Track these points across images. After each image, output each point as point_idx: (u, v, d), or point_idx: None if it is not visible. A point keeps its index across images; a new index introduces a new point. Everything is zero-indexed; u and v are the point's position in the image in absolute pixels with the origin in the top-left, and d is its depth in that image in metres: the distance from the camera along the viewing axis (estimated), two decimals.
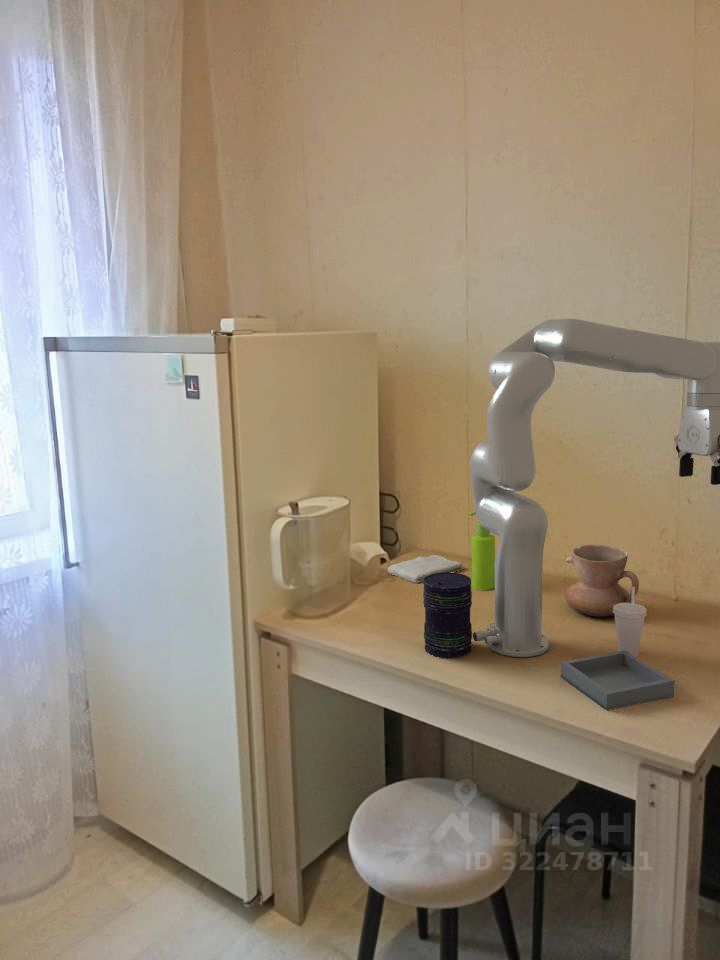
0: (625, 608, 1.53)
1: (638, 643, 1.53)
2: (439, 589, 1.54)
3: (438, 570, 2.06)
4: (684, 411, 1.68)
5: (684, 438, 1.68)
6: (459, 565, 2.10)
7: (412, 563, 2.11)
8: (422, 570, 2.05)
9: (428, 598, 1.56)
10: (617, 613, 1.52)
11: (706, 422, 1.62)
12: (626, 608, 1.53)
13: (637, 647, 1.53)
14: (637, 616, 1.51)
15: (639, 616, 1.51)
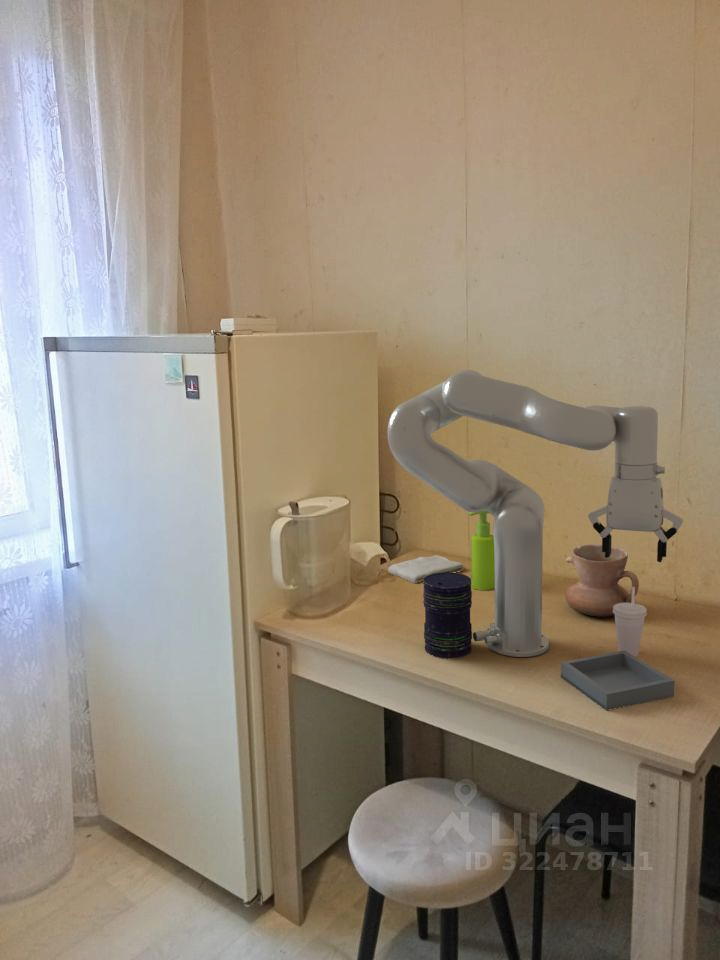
0: (625, 608, 1.53)
1: (638, 643, 1.53)
2: (439, 589, 1.54)
3: (438, 570, 2.06)
4: None
5: None
6: (460, 566, 2.10)
7: (413, 563, 2.11)
8: (422, 570, 2.05)
9: (428, 598, 1.56)
10: (617, 613, 1.52)
11: None
12: (626, 608, 1.53)
13: (637, 647, 1.53)
14: (637, 616, 1.51)
15: (639, 616, 1.51)
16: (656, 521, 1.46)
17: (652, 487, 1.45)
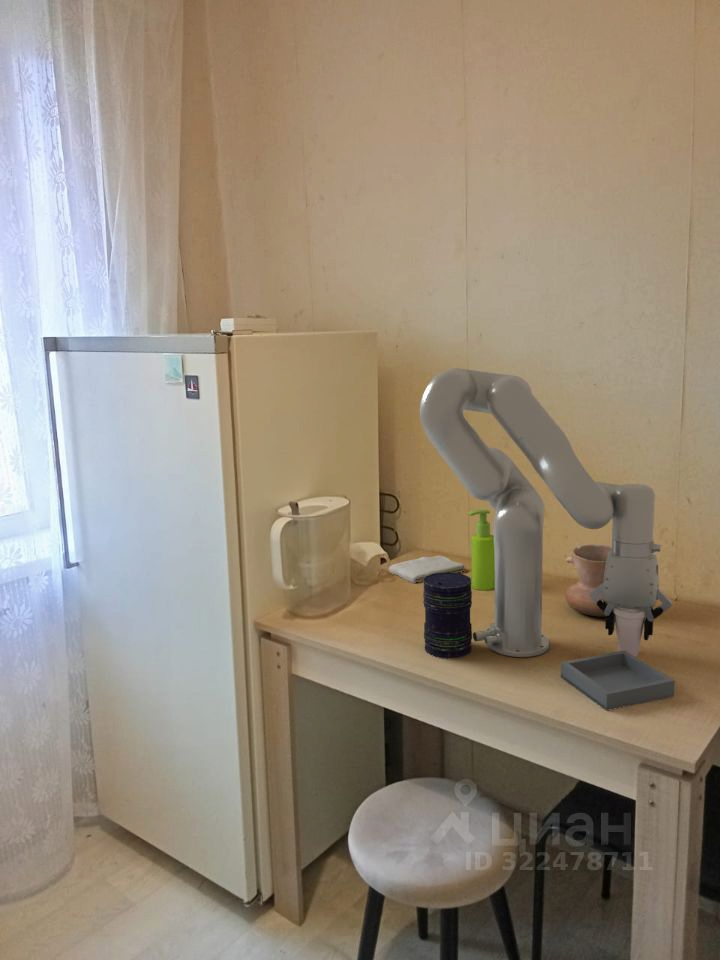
0: (626, 608, 1.53)
1: (638, 643, 1.53)
2: (439, 589, 1.54)
3: (438, 571, 2.06)
4: None
5: None
6: (461, 566, 2.09)
7: (414, 563, 2.12)
8: (421, 570, 2.05)
9: (428, 598, 1.56)
10: (618, 613, 1.52)
11: None
12: (627, 608, 1.53)
13: (637, 647, 1.53)
14: (638, 616, 1.51)
15: (640, 616, 1.51)
16: (651, 598, 1.49)
17: (648, 565, 1.48)
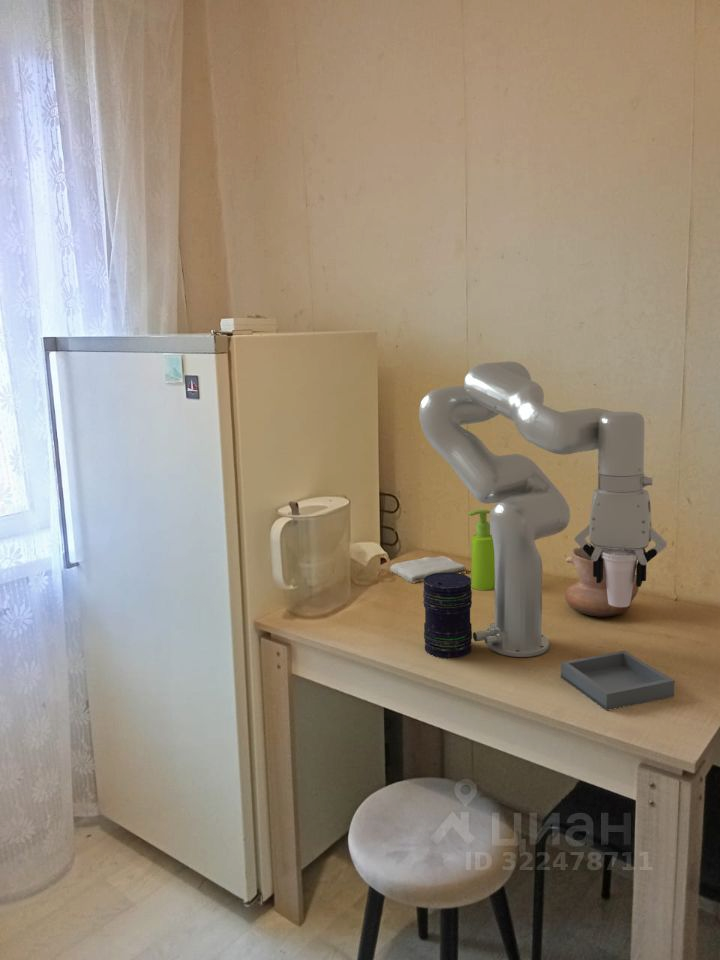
0: (615, 551, 1.37)
1: (630, 591, 1.37)
2: (439, 589, 1.54)
3: (438, 571, 2.05)
4: None
5: None
6: (462, 567, 2.08)
7: (415, 563, 2.12)
8: (421, 570, 2.05)
9: (428, 598, 1.56)
10: (606, 557, 1.36)
11: None
12: (616, 551, 1.37)
13: (629, 595, 1.37)
14: (629, 559, 1.34)
15: (631, 559, 1.34)
16: (643, 537, 1.33)
17: (639, 500, 1.32)
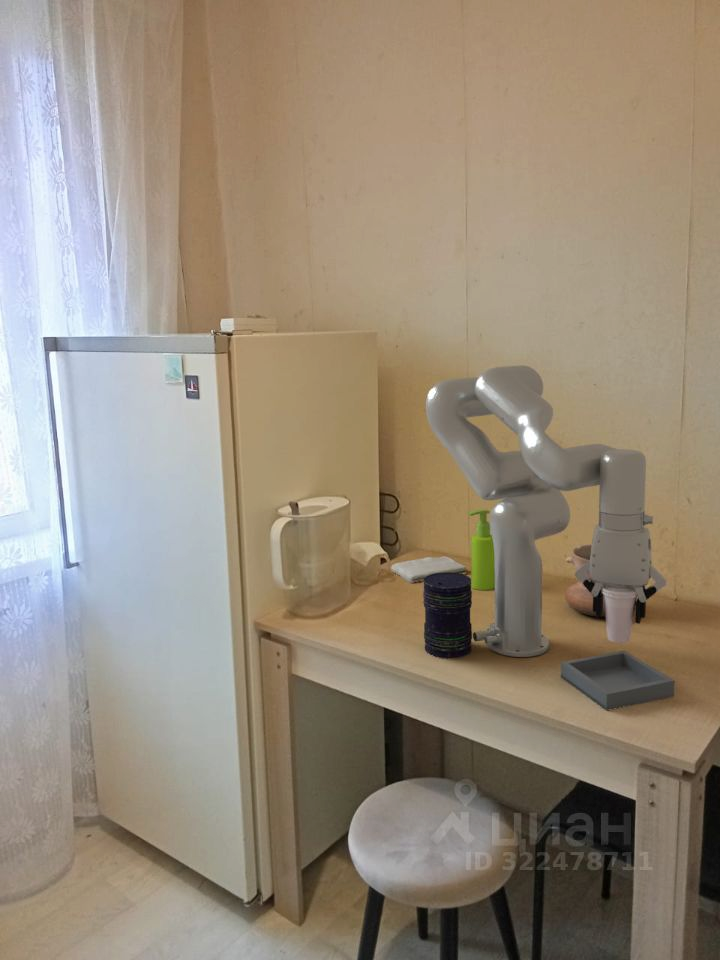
0: (615, 588, 1.38)
1: (629, 627, 1.38)
2: (439, 589, 1.54)
3: (437, 572, 2.05)
4: None
5: None
6: (462, 568, 2.08)
7: (416, 563, 2.12)
8: (421, 570, 2.05)
9: (428, 598, 1.56)
10: (606, 593, 1.37)
11: None
12: (616, 588, 1.38)
13: (628, 631, 1.38)
14: (628, 596, 1.35)
15: (630, 596, 1.35)
16: (643, 576, 1.34)
17: (639, 538, 1.33)
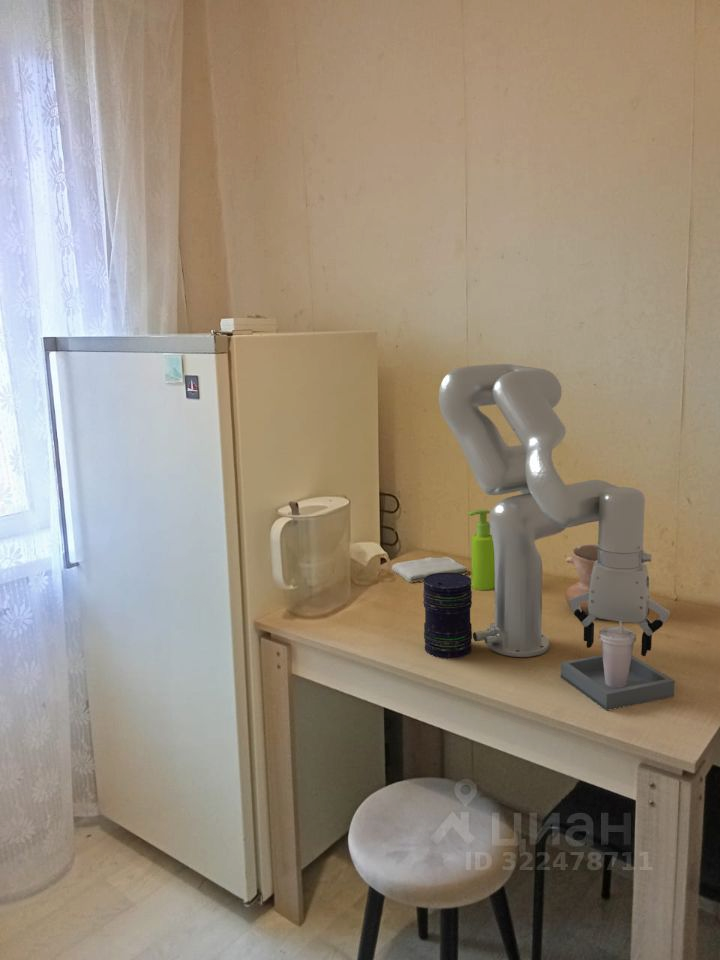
0: (612, 633, 1.39)
1: (627, 672, 1.39)
2: (439, 589, 1.54)
3: (437, 572, 2.05)
4: None
5: None
6: (463, 569, 2.07)
7: (417, 563, 2.12)
8: (420, 570, 2.05)
9: (428, 598, 1.56)
10: (603, 639, 1.39)
11: None
12: (613, 633, 1.39)
13: (625, 676, 1.40)
14: (625, 643, 1.37)
15: (627, 643, 1.37)
16: (641, 613, 1.35)
17: (638, 576, 1.34)
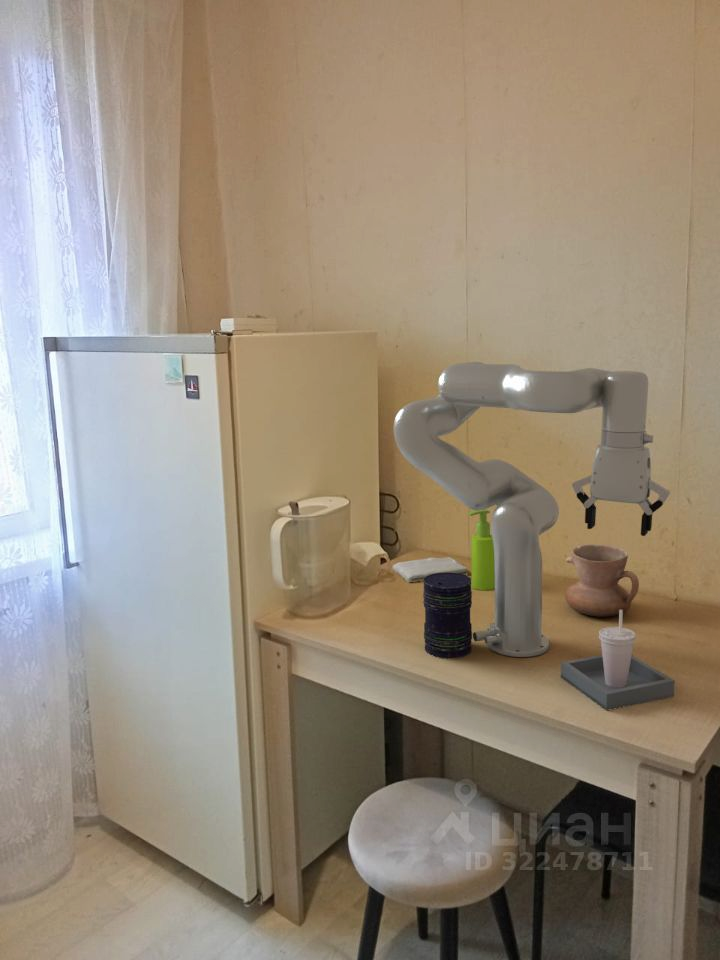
0: (612, 633, 1.39)
1: (627, 672, 1.39)
2: (439, 589, 1.54)
3: (437, 572, 2.04)
4: None
5: None
6: (463, 570, 2.07)
7: (418, 563, 2.11)
8: (420, 570, 2.05)
9: (428, 598, 1.56)
10: (603, 639, 1.39)
11: None
12: (613, 633, 1.39)
13: (625, 676, 1.40)
14: (625, 642, 1.37)
15: (627, 642, 1.37)
16: (641, 492, 1.39)
17: (639, 456, 1.38)
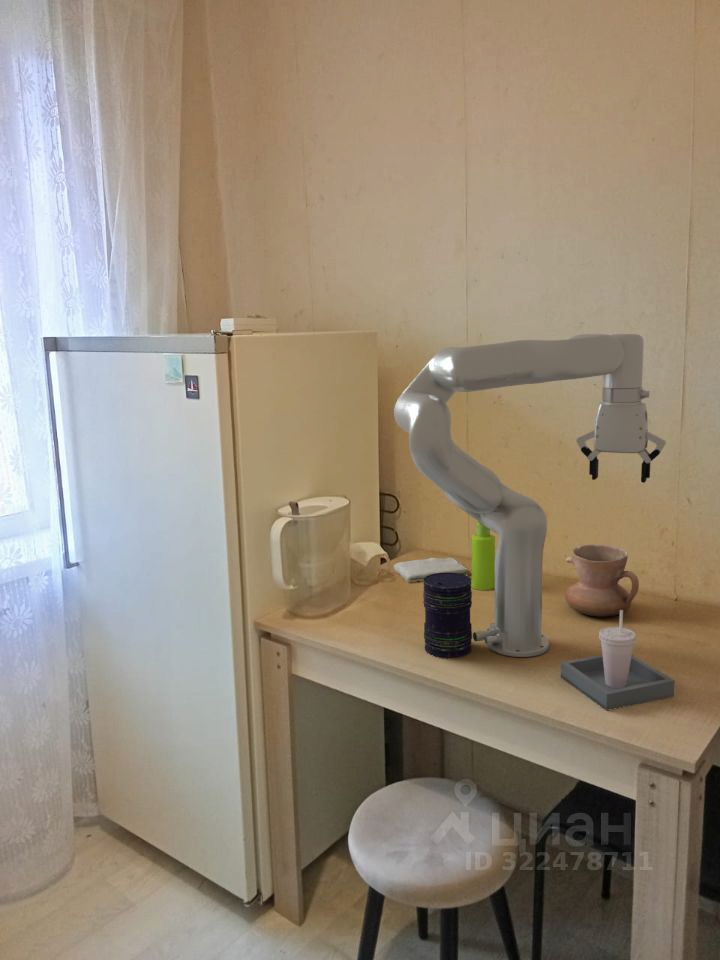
0: (612, 634, 1.39)
1: (627, 672, 1.39)
2: (439, 589, 1.54)
3: (436, 572, 2.04)
4: None
5: None
6: (463, 570, 2.06)
7: (419, 563, 2.11)
8: (420, 570, 2.05)
9: (428, 598, 1.56)
10: (603, 639, 1.39)
11: None
12: (613, 634, 1.39)
13: (626, 676, 1.40)
14: (625, 643, 1.37)
15: (628, 643, 1.37)
16: (640, 442, 1.54)
17: (637, 409, 1.53)
